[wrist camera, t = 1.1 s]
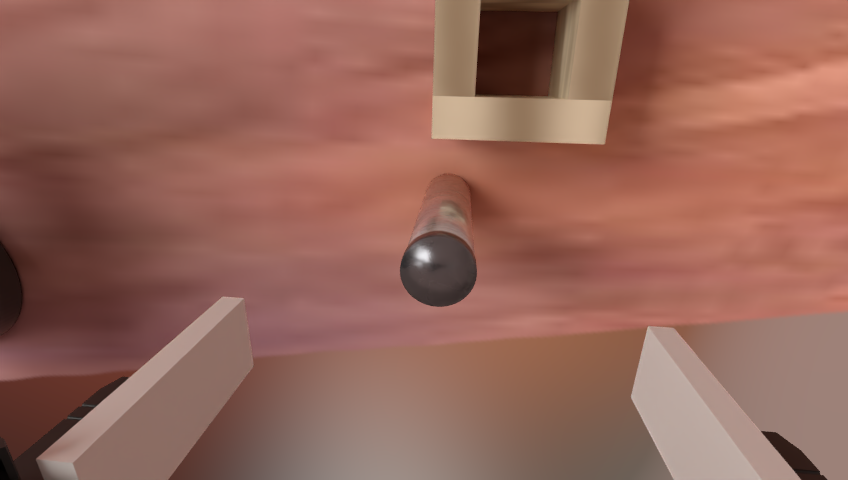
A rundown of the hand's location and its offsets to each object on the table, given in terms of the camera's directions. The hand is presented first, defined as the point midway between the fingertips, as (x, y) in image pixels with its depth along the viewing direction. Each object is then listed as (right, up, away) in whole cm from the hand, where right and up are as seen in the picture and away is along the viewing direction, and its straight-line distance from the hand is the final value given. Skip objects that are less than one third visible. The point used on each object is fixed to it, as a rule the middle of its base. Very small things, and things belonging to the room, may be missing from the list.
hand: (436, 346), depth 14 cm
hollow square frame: (+6, +16, +15) cm, 22 cm away
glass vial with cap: (+1, +7, +18) cm, 20 cm away
